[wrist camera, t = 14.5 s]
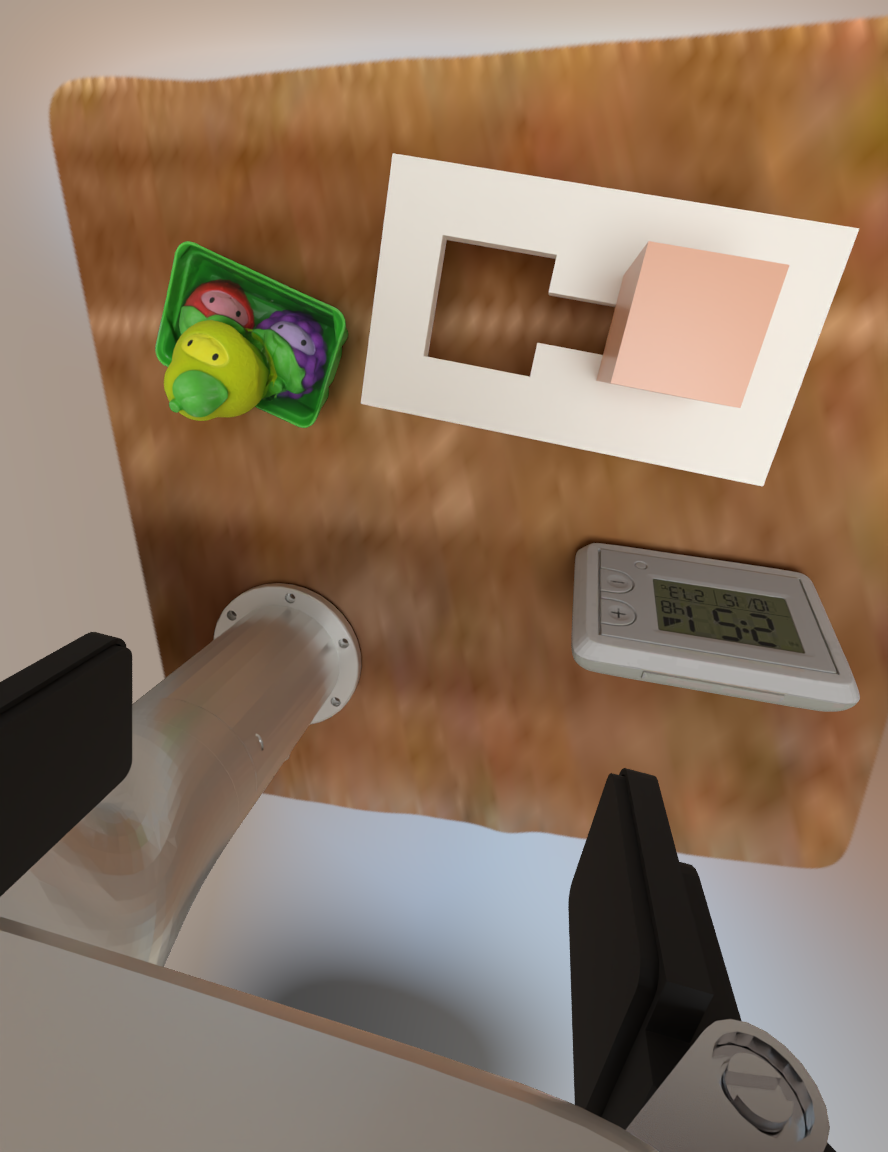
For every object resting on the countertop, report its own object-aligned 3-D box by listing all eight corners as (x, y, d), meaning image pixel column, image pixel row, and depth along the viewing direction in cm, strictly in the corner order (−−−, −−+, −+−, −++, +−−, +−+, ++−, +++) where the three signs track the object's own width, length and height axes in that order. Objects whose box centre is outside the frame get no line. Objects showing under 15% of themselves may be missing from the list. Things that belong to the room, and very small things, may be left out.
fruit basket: (373, 320, 40) (310, 301, 30) (331, 441, 44) (261, 463, 33) (222, 251, 41) (106, 209, 30) (191, 377, 44) (78, 378, 33)
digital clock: (821, 577, 41) (908, 643, 31) (757, 685, 44) (818, 776, 34) (596, 499, 42) (610, 538, 32) (549, 610, 45) (549, 677, 35)
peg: (681, 397, 33) (740, 408, 23) (592, 380, 34) (610, 383, 23) (710, 300, 32) (789, 264, 21) (616, 284, 32) (648, 241, 22)
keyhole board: (717, 462, 40) (762, 486, 31) (399, 397, 42) (360, 403, 33) (786, 263, 35) (859, 228, 27) (428, 202, 38) (392, 153, 29)
